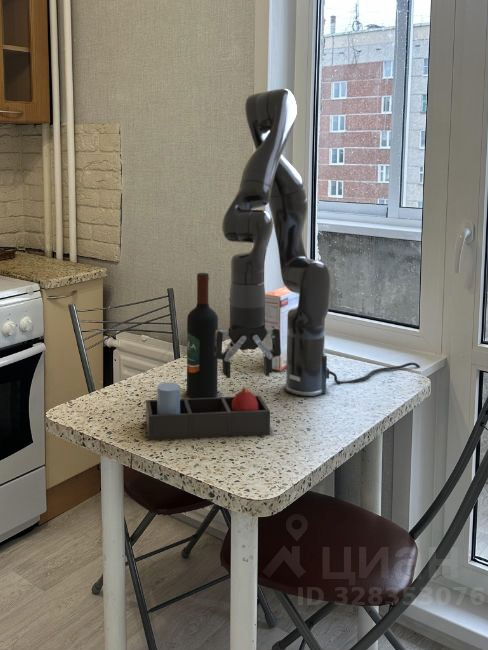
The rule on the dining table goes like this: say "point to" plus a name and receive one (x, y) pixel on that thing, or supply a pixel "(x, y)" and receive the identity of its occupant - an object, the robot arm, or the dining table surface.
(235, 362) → the dining table surface
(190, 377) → the wine bottle
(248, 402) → the onion
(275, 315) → the cracker box
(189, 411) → the holder
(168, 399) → the light blue cylinder
